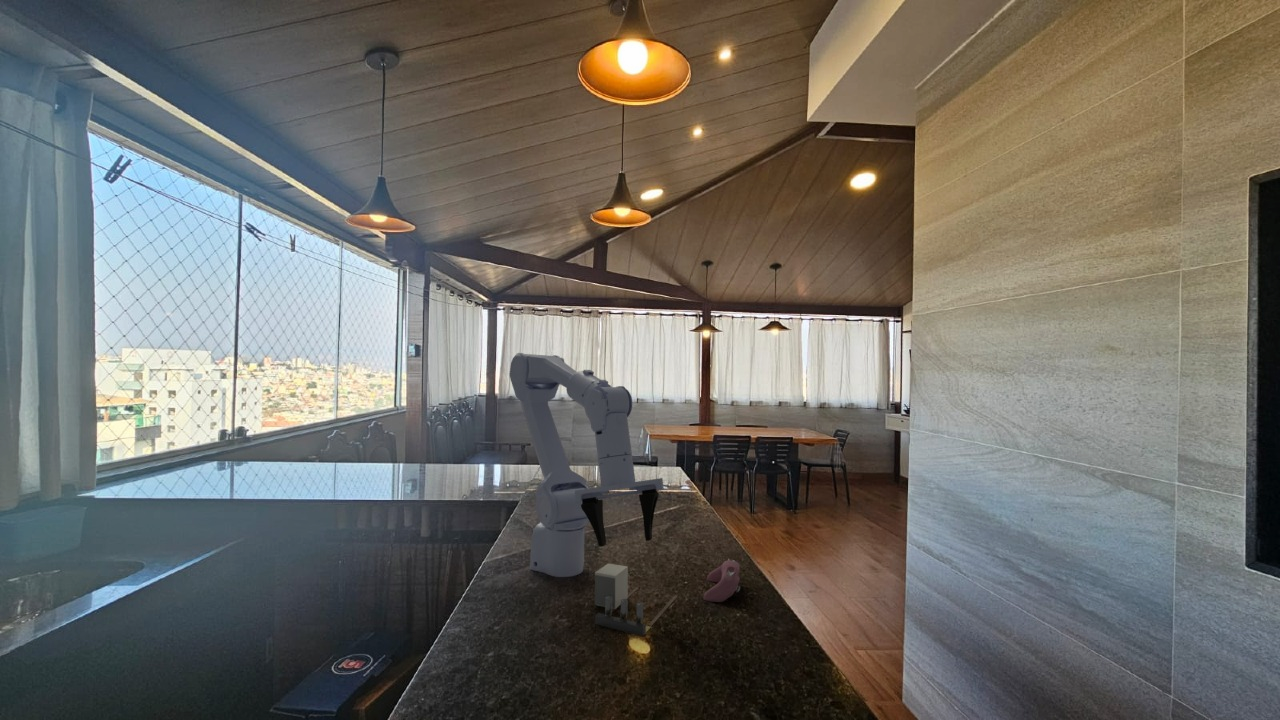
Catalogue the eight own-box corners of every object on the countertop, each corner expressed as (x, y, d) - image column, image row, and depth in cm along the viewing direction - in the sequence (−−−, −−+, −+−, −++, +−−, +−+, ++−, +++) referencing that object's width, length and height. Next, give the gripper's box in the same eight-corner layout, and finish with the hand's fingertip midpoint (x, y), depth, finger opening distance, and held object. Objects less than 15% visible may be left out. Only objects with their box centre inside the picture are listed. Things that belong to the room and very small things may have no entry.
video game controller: (725, 618, 81) (746, 581, 81) (700, 602, 82) (721, 565, 82) (727, 594, 91) (745, 560, 91) (704, 579, 92) (723, 546, 92)
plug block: (594, 605, 79) (594, 572, 79) (607, 594, 83) (608, 563, 84) (614, 609, 78) (614, 576, 78) (627, 598, 82) (627, 566, 82)
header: (594, 624, 73) (595, 599, 73) (601, 617, 75) (602, 593, 75) (642, 636, 70) (643, 610, 70) (648, 629, 72) (649, 604, 72)
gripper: (565, 463, 81) (574, 551, 78) (653, 450, 79) (666, 540, 76) (578, 463, 88) (587, 545, 85) (660, 451, 86) (672, 534, 83)
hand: (625, 542), depth 81 cm, fingers open, 7 cm apart
